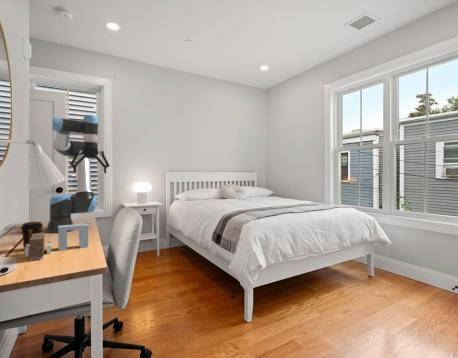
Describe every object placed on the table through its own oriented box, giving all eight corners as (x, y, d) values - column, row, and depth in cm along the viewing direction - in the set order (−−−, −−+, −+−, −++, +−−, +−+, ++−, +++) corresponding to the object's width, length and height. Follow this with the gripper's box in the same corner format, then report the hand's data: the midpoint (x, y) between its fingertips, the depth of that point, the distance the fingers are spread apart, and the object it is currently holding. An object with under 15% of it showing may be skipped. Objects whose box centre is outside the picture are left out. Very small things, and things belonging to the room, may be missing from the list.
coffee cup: (39, 245, 132) (39, 220, 131) (45, 248, 127) (46, 222, 126) (18, 249, 124) (18, 223, 124) (24, 252, 120) (24, 225, 119)
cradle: (26, 252, 120) (26, 244, 120) (51, 249, 125) (51, 241, 125) (23, 260, 109) (23, 251, 109) (50, 257, 114) (50, 248, 114)
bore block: (58, 248, 128) (58, 225, 128) (87, 244, 135) (87, 223, 135) (58, 250, 124) (58, 227, 123) (88, 247, 131) (88, 225, 131)
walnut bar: (32, 250, 120) (32, 233, 120) (44, 249, 123) (44, 232, 122) (29, 258, 108) (30, 240, 108) (43, 257, 111) (43, 238, 111)
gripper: (65, 139, 138) (64, 178, 138) (114, 143, 152) (114, 178, 152) (64, 140, 144) (64, 178, 145) (112, 144, 158) (112, 178, 159)
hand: (90, 178), depth 149 cm, fingers open, 13 cm apart
